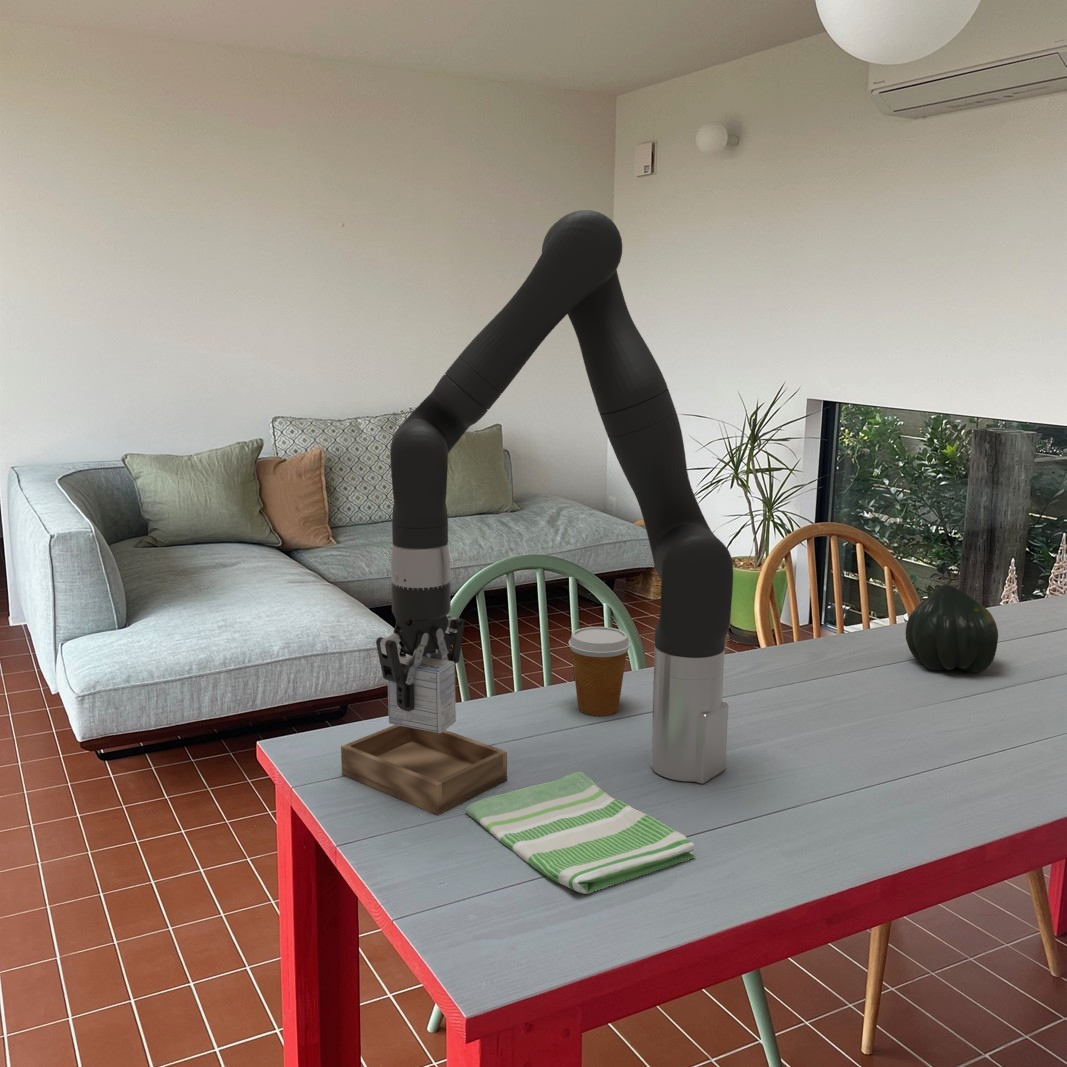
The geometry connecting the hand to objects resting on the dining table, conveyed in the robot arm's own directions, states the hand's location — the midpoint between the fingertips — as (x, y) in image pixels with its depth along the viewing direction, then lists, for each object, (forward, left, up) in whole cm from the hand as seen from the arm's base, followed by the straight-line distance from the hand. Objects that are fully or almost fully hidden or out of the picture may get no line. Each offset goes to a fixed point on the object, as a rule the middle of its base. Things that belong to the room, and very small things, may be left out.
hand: (422, 702), depth 138 cm
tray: (0, 0, -11) cm, 11 cm away
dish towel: (-25, -1, -11) cm, 27 cm away
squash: (-38, -91, -11) cm, 99 cm away
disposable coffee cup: (-3, -35, -11) cm, 37 cm away
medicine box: (0, 0, -3) cm, 3 cm away
